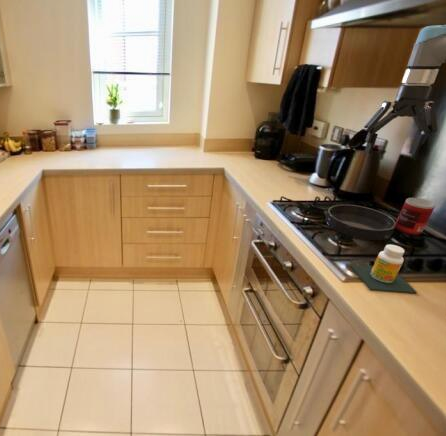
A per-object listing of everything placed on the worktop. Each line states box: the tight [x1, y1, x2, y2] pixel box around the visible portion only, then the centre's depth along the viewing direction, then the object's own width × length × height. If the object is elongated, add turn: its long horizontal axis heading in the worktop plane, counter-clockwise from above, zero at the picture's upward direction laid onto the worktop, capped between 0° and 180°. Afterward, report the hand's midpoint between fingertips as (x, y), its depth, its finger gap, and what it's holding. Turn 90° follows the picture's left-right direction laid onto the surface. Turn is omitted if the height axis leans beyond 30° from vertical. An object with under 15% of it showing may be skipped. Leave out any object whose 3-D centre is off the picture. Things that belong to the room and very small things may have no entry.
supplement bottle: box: [371, 244, 405, 283], centre depth 86 cm, size 5×5×10 cm
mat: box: [350, 264, 417, 295], centre depth 89 cm, size 11×11×1 cm
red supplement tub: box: [395, 197, 436, 236], centre depth 110 cm, size 8×8×11 cm
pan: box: [324, 204, 396, 242], centre depth 115 cm, size 20×20×4 cm
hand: (389, 153), depth 105 cm, fingers open, 13 cm apart
